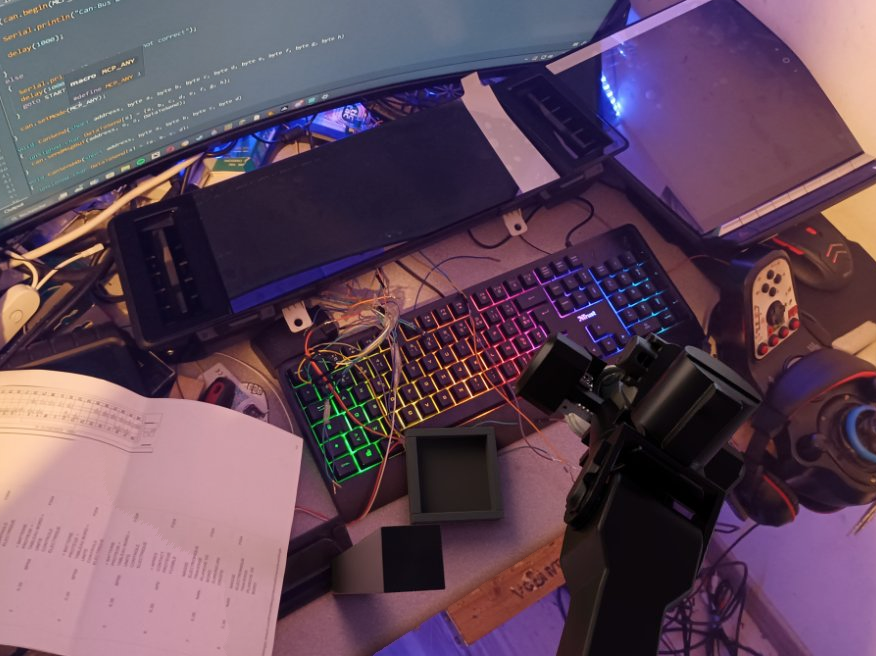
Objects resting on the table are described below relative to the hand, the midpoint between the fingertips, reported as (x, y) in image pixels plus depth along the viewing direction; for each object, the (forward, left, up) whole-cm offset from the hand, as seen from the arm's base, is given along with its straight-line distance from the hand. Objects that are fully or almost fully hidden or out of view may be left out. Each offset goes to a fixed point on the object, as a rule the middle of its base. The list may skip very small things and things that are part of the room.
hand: (624, 386), depth 68 cm
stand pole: (-15, +26, -12) cm, 32 cm away
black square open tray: (-6, +15, -12) cm, 20 cm away
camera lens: (-1, +1, -7) cm, 7 cm away
